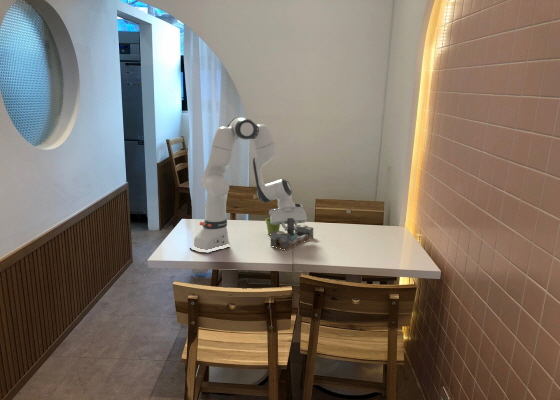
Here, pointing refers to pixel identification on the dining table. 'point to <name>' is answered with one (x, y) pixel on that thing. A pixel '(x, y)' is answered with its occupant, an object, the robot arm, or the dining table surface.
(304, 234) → the grey long blocky piece
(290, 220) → the carriage
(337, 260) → the dining table surface
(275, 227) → the plant pot
